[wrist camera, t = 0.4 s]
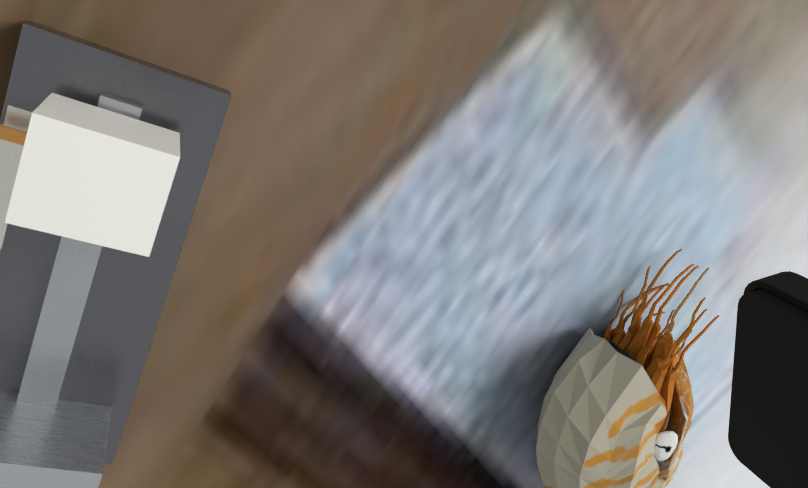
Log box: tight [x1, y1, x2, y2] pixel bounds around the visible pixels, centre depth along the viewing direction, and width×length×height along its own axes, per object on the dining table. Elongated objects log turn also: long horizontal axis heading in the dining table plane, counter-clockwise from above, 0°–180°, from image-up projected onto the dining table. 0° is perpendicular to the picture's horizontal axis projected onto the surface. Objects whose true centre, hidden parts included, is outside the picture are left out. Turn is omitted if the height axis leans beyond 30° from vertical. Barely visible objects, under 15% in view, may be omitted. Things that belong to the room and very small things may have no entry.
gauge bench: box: [0, 21, 231, 488], centre depth 35 cm, size 24×10×8 cm, turn 158°
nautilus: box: [536, 249, 719, 488], centre depth 50 cm, size 8×22×15 cm
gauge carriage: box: [0, 93, 180, 257], centre depth 31 cm, size 5×8×5 cm, turn 68°
